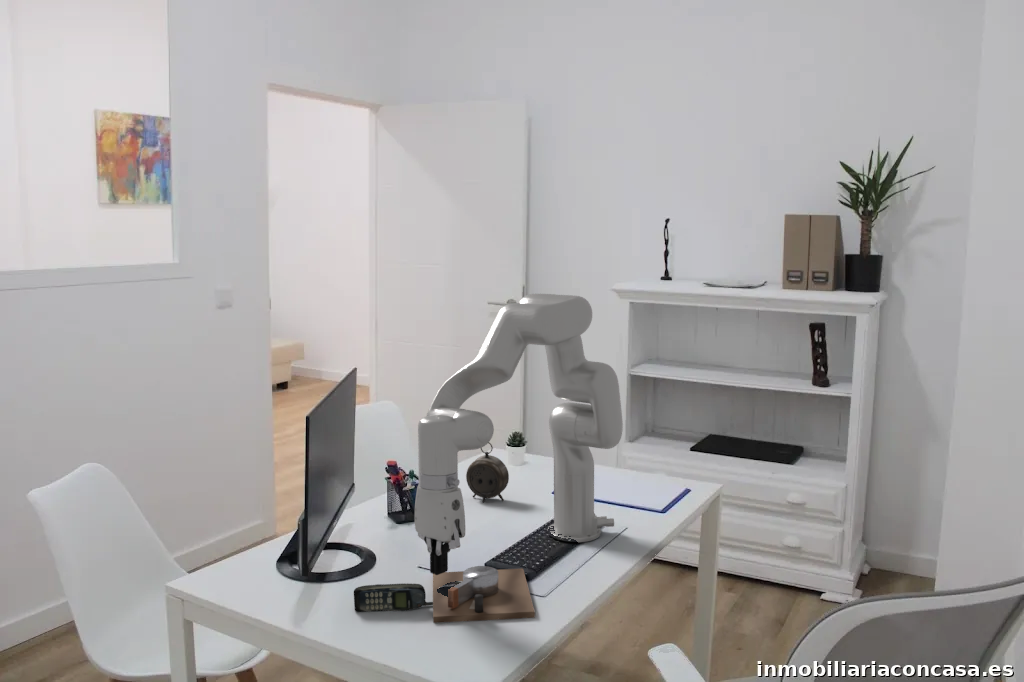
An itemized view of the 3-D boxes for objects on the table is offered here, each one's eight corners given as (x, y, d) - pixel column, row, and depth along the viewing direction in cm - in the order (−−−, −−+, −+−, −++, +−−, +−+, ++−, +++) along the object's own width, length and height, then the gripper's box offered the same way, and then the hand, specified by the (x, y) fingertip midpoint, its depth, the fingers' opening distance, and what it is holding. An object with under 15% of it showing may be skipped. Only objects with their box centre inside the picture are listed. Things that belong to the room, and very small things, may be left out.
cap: (476, 579, 181) (476, 563, 180) (505, 586, 177) (505, 570, 176) (436, 603, 169) (435, 586, 169) (465, 612, 166) (465, 594, 165)
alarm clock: (509, 500, 237) (509, 440, 235) (502, 506, 232) (501, 445, 230) (472, 495, 241) (471, 437, 239) (464, 501, 236) (462, 442, 234)
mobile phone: (352, 590, 169) (431, 585, 170) (354, 584, 172) (432, 579, 173) (354, 615, 169) (432, 610, 170) (356, 608, 172) (433, 603, 173)
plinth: (523, 573, 187) (523, 554, 187) (534, 617, 167) (534, 596, 166) (433, 578, 186) (432, 559, 185) (433, 622, 165) (432, 601, 164)
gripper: (479, 483, 168) (480, 576, 170) (426, 469, 178) (427, 557, 180) (451, 491, 162) (452, 588, 164) (397, 477, 172) (398, 568, 174)
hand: (439, 572), depth 172 cm, fingers closed
